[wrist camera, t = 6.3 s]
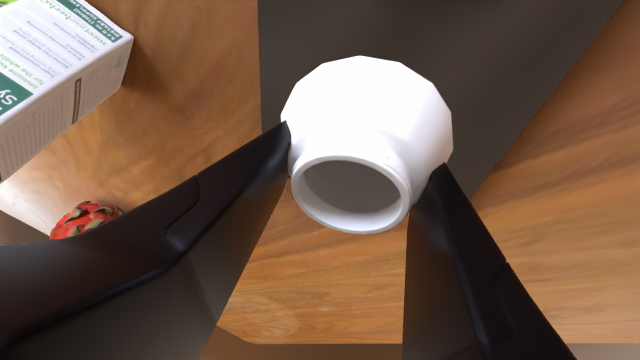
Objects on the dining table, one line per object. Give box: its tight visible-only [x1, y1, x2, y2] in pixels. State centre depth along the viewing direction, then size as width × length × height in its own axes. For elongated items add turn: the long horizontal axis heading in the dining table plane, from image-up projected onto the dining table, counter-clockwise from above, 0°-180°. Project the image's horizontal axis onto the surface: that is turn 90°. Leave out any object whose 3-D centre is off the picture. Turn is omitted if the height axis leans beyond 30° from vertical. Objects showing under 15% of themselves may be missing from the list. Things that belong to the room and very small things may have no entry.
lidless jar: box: [281, 56, 453, 234], centre depth 9 cm, size 5×3×5 cm
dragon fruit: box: [50, 201, 123, 240], centre depth 40 cm, size 8×8×12 cm
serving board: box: [258, 0, 624, 210], centre depth 18 cm, size 16×22×1 cm
